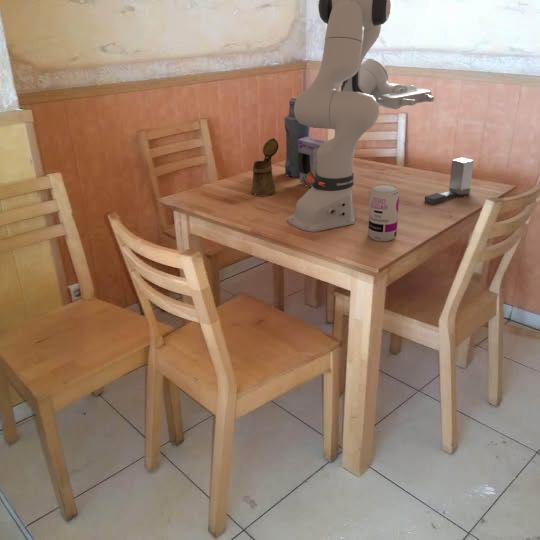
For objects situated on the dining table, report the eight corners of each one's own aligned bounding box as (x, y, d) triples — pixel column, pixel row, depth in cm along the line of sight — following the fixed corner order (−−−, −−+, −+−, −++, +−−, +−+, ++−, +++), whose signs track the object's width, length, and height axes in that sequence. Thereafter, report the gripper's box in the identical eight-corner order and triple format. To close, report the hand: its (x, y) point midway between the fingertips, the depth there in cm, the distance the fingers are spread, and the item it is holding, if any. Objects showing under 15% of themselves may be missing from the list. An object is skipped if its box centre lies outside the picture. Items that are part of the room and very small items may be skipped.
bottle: (283, 172, 227) (281, 96, 214) (306, 170, 229) (306, 94, 215) (288, 178, 219) (286, 100, 206) (312, 176, 220) (312, 98, 207)
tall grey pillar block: (460, 191, 192) (464, 163, 188) (449, 188, 196) (452, 160, 191) (470, 188, 195) (473, 160, 190) (458, 185, 198) (461, 157, 194)
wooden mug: (285, 186, 210) (284, 139, 202) (267, 197, 199) (266, 147, 191) (265, 183, 214) (263, 137, 206) (246, 194, 204) (244, 145, 196)
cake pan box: (297, 183, 213) (296, 137, 205) (307, 181, 216) (307, 135, 208) (327, 196, 199) (328, 147, 191) (339, 193, 201) (340, 144, 193)
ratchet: (457, 189, 200) (459, 171, 198) (473, 194, 195) (476, 176, 192) (420, 200, 191) (422, 182, 188) (436, 205, 186) (438, 187, 183)
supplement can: (394, 231, 167) (398, 183, 161) (397, 242, 160) (401, 192, 153) (367, 231, 168) (369, 183, 162) (368, 242, 161) (371, 192, 154)
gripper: (373, 90, 198) (402, 95, 188) (414, 84, 208) (443, 88, 198) (373, 109, 201) (401, 114, 190) (412, 101, 211) (441, 106, 200)
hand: (423, 101), depth 194 cm, fingers open, 8 cm apart
